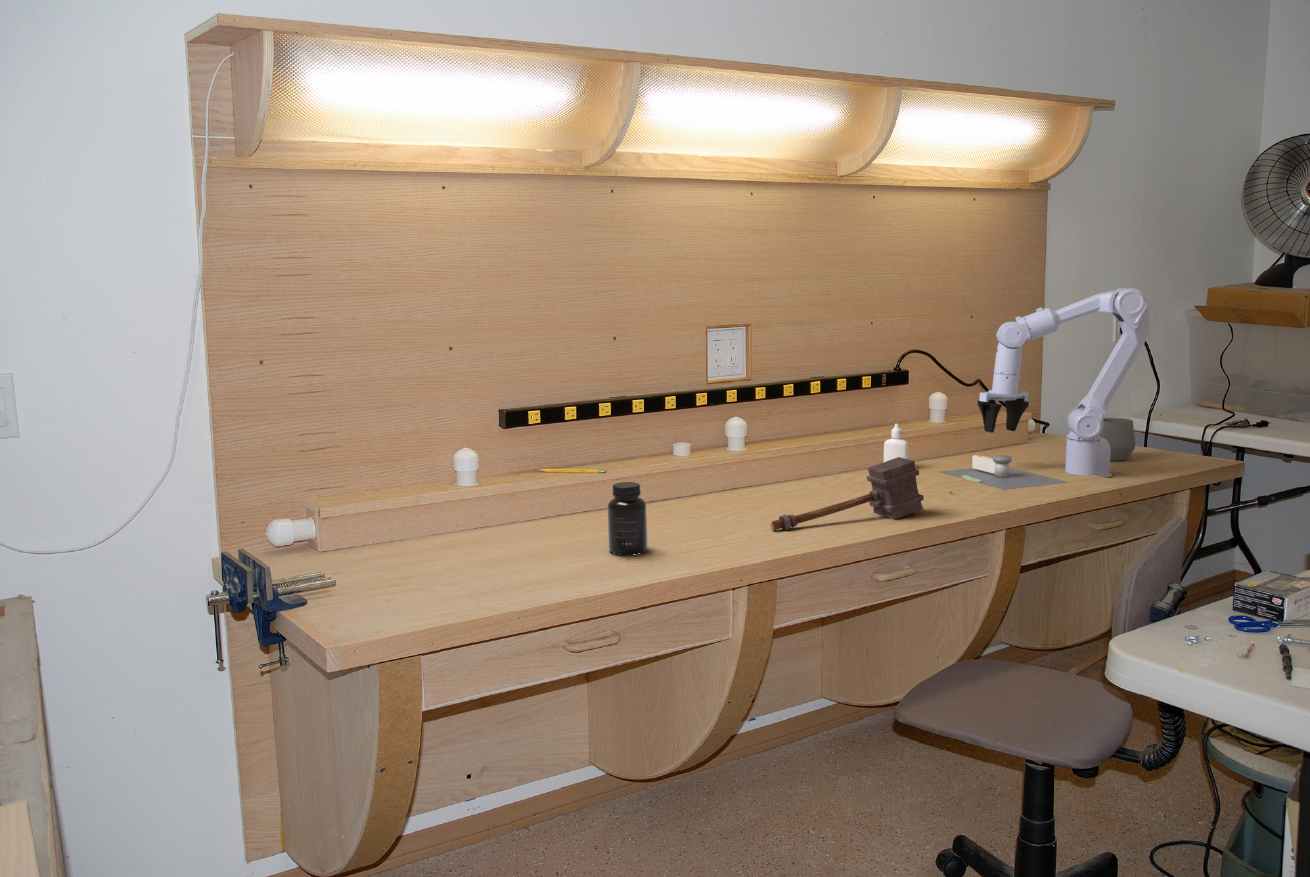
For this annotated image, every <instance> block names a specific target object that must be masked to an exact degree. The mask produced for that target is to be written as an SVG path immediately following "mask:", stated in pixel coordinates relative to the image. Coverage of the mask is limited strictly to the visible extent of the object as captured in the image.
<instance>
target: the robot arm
mask: <svg viewBox="0 0 1310 877" xmlns="http://www.w3.org/2000/svg"><path fill="white" fill-rule="evenodd" d="M1150 306H1151V305H1150V303H1149V301H1148V300H1147V297H1146V296H1145V294H1144V292H1142V291H1141V290H1140V289H1138V288H1129V287H1118V288H1115V289H1114V290H1107V291H1104V292H1103V291H1102V292H1099V293H1097V294H1096V293H1095V294H1093V295H1091V296H1088V297H1085V298H1083V299H1081V300H1079V301H1076V302H1073V303H1072V304H1069V305H1066V306H1064V307H1062V308H1060V309H1059V308H1058V309H1057V310H1054V309H1053V308H1049V307H1047V308H1043V307H1039V308H1036V310H1035V311H1036V312H1033V313H1030V314H1028V315H1025V316H1022V317H1021V316H1016V317H1015V321H1007V322H1005V323H1003V324H1001V325H1000V326H999V328H998V330H997V332H996V334H995V335H996V340H997V341H998V342H997V346H996V350H997V352H996V353H995V360H994V369H993V377H992V386H991V389H989V390H988V391H984V392H979V399H978V400H977V406H978V408H979V411H980V413H981V417H982V421H983V422H982V423H983V428H984V432H987V433H991V434H992V433H994V432H995V430H996V424H997V419H998V416H999V412H1000V410H1001V408H1002V406H1003V404H1001V403H999V404H998V403H997V402H1003V401H1004V404H1005V411H1006V422H1005V424H1006V425H1005V428H1006V431H1011V432H1016V430H1017V428H1018V425H1019V423H1020V420H1021V418H1022V416H1023V415H1024V412H1025V411H1026V410H1027V408H1028V407H1029V406H1030V402H1029V401H1028V400H1029V399H1028V398H1029V391H1023V390H1020V391H1019V386H1020V385H1019V384H1020V376H1021V368H1022V367H1021V366H1022V359H1023V354H1022V352H1023V345H1024V344H1025V342H1026V341H1029V342H1031V341H1033V340H1035V339H1036V340H1037V339H1039V338H1042V337H1044V336H1047V335H1050V334H1052V333H1055V332H1057V331H1058V329H1059V327H1060V325H1061V324H1063V323H1067V322H1069V321H1072V320H1076V319H1078V318H1081V317H1083V316H1086V315H1091V314H1093V313H1096V312H1099V313H1100V312H1101V313H1111V314H1112V315H1113V316H1114V317H1115V319H1116V320H1117V322H1118V325H1119V326H1120V328H1121V329H1120V330H1121V332H1122V333H1121V335H1120V337H1119V339H1118V341H1117V342H1116V344H1115V346H1114V348H1113V349H1112V351H1111V353H1110V354H1109V357H1108V358H1107V360H1106V361H1105V363H1104V365H1103V367H1102V369H1101V370H1100V372H1099V374H1098V375H1097V377H1096V378H1095V380H1094V382H1093V383H1092V386H1091V387H1090V389H1089V391H1088V393H1087V394H1086V395H1085V396H1084V397H1083V398H1082V399H1081V400H1080V402H1079V403H1078V405H1077V406H1076V407H1075V408H1073V409H1072V410H1070V412H1068V414H1067V417H1066V425H1067V427H1068V429H1069V430H1070V431H1069V432H1068V434H1066V445H1065V460H1064V461H1065V464H1064V466H1065V467H1064V473H1067V474H1071V475H1076V476H1077V475H1078V476H1097V477H1101V478H1109V477H1112V476H1113V474H1112V473H1110V471H1111V470H1110V468H1111V461H1110V454H1111V449H1110V445H1109V443H1108V441H1107V440H1106V439H1104V438H1102V437H1101V436H1100V435H1099V434H1100V433H1101V431H1102V429H1103V420H1104V418H1106V415H1107V414H1108V408H1109V404H1110V403H1111V401H1112V399H1113V398H1114V395H1115V394H1116V392H1117V391H1118V389H1119V387H1120V386H1121V383H1122V382H1123V380H1124V378H1125V377H1126V375H1127V373H1128V372H1129V370H1130V368H1131V367H1132V366H1133V363H1134V361H1135V360H1136V357H1137V356H1138V355H1139V353H1140V351H1141V349H1142V347H1144V345H1145V343H1146V341H1147V340H1148V338H1149V335H1150V316H1149V314H1150V313H1149V310H1150Z"/></svg>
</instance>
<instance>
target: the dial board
mask: <svg viewBox="0 0 1310 877" xmlns="http://www.w3.org/2000/svg"><path fill="white" fill-rule="evenodd" d="M939 473H941V474H945V475H949V476H951V477H955V478H960V479H963V480H967V481H970V482H974V483H978V484H981V485H984V486H988V487H992V488H995V489H998V490H1003V491H1006V490H1007V491H1009V490H1017V489H1024V488H1033V487H1040V486H1047V485H1048V486H1049V485H1056V484H1064V483H1065V484H1066V483H1068V481H1066V480H1062V479H1058V478H1054V477H1049V476H1045V475H1041V474H1037V473H1034V472H1030V471H1029V472H1028V471H1027V470H1026V471H1025V470H1022V469H1021V470H1020V469H1018V468H1013V467H1009V476H1008V477H1006V478H1001V477H995V474H994V473H990V472H986V471H982V470H978V469H974V468H972V467H969V468H960V469H950V470H942V471H939Z"/></svg>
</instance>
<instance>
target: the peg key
mask: <svg viewBox="0 0 1310 877" xmlns="http://www.w3.org/2000/svg"><path fill="white" fill-rule="evenodd" d="M971 460H972V464H971V468H974V469H978V470H982V471H986V472H990V473H994V474H995V477H1001V478H1006V477H1008V476H1009V468H1010V463H1012V461H1013V460H1012V456H1011V455H1006V454H1005V455H1004V454H1003V455H1002V454H1000V455H999V454H997V455H993V456H992V458H991V457H989V456H984V455H981V454H976V453H975V454H974V455H972V459H971Z"/></svg>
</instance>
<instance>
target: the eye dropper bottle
mask: <svg viewBox="0 0 1310 877" xmlns="http://www.w3.org/2000/svg"><path fill="white" fill-rule="evenodd" d="M902 434H903V430H902V429H901V428H900V426H899V423H894V427H893V428H892V429H891V433H890V436H891V438H889V439H886V440H885V441H884V443H883V463H884V462H886V461H889V460H892V459H894V458H897V457H901V458H905V459H909V442H908V441H907V440H905V439H902V437H903V436H902Z"/></svg>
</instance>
